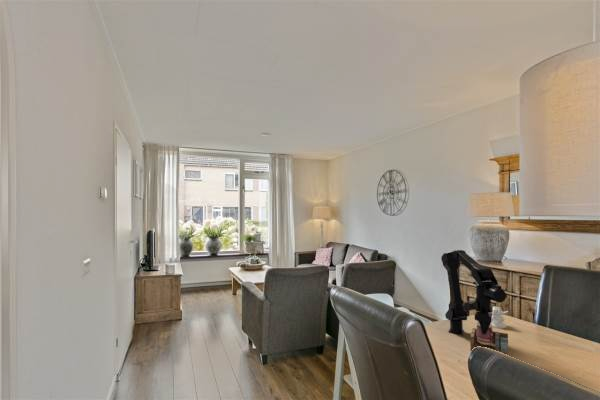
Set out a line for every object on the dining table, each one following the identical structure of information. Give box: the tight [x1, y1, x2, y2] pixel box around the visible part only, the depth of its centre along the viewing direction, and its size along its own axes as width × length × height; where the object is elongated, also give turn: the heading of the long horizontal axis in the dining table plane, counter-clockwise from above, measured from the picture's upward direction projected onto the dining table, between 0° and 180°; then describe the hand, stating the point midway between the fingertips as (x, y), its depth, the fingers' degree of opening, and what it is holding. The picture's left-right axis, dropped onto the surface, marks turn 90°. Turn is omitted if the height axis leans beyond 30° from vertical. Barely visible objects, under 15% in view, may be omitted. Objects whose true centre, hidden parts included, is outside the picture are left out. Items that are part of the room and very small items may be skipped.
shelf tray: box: [469, 327, 509, 355], centre depth 146 cm, size 13×14×6 cm
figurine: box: [491, 306, 509, 329], centre depth 176 cm, size 12×9×10 cm
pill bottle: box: [476, 320, 493, 345], centre depth 145 cm, size 6×6×11 cm
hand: (484, 332), depth 145 cm, fingers closed on pill bottle, 6 cm apart
